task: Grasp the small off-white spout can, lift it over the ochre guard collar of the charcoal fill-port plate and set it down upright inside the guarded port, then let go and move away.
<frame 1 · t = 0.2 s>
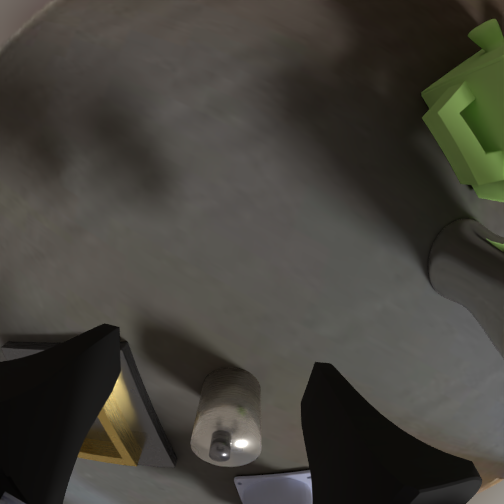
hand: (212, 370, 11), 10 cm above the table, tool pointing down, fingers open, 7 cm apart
gearbox: (486, 97, 17), on the table
spout can: (231, 389, 23), on the table
beer glass: (458, 258, 20), on the table
fill port: (87, 406, 24), on the table
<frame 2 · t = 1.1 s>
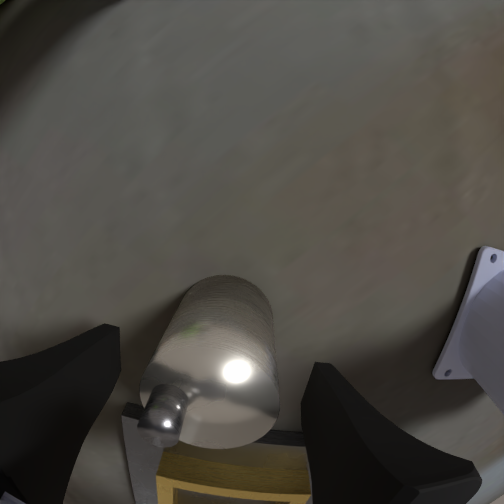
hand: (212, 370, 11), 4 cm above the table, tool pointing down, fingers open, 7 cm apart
spout can: (225, 319, 15), on the table
fill port: (228, 484, 18), on the table
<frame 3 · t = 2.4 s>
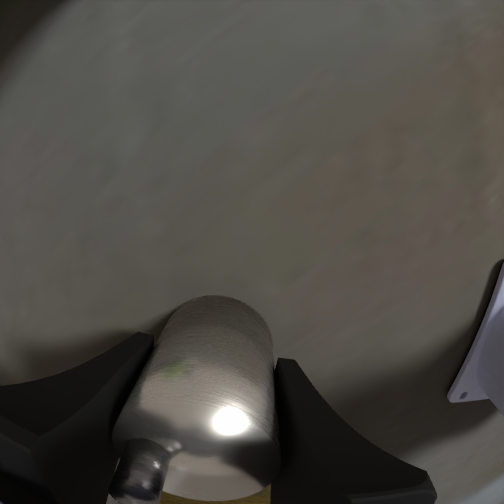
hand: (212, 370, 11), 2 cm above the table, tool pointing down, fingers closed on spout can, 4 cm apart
spout can: (217, 345, 13), on the table, touching gripper
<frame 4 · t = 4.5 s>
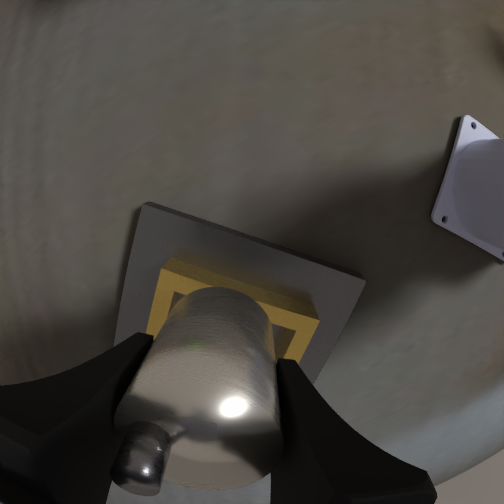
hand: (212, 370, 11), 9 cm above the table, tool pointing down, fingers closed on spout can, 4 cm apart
spout can: (218, 337, 13), point 7 cm above the table, touching gripper
fill port: (222, 334, 21), on the table
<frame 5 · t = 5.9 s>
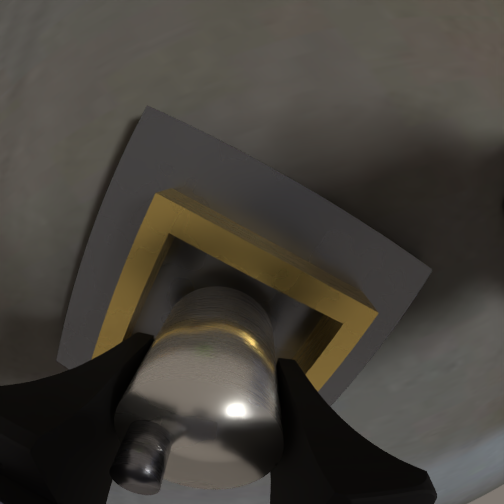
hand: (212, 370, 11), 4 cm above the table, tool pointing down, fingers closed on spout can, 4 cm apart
spout can: (218, 336, 13), point 2 cm above the table, touching gripper
fill port: (223, 318, 15), on the table
when the fingers open (4 cm above the table, at t = 6.8 s): spout can stays where it is, resting on fill port.
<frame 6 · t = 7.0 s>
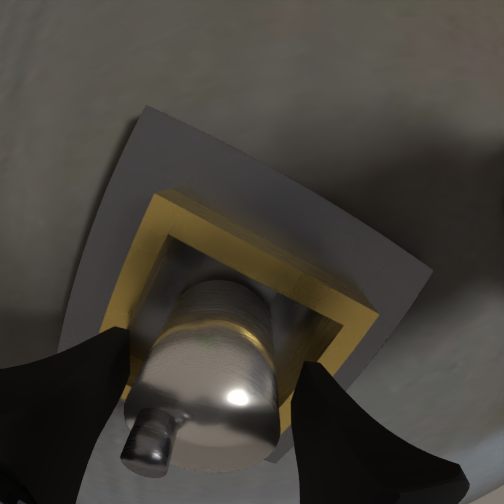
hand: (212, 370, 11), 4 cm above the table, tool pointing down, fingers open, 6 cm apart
spout can: (220, 327, 13), point 1 cm above the table, touching fill port
fill port: (222, 319, 15), on the table
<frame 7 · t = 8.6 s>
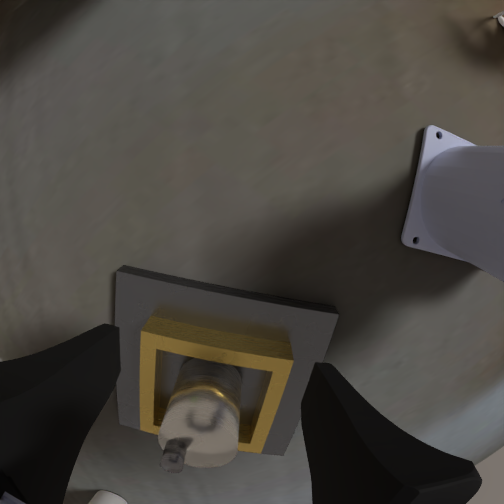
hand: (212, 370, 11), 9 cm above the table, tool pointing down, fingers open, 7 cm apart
spout can: (209, 382, 21), point 1 cm above the table, touching fill port
fill port: (212, 374, 22), on the table
soft serve ice cream cone: (113, 497, 28), on the table
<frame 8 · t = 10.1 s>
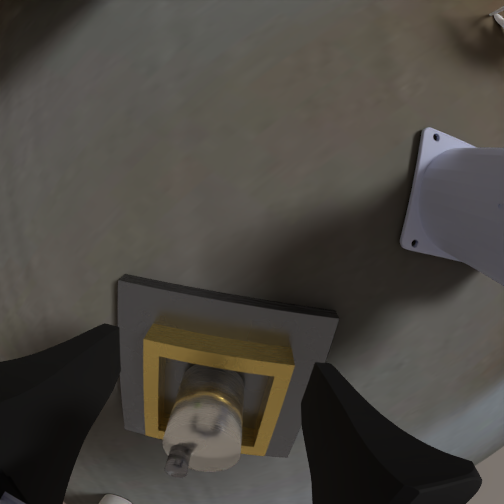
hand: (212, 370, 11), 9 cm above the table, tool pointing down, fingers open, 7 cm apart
spout can: (212, 387, 21), point 1 cm above the table, touching fill port
fill port: (215, 379, 22), on the table
soft serve ice cream cone: (120, 501, 29), on the table
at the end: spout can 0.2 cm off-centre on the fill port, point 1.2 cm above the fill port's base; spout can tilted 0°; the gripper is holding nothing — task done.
